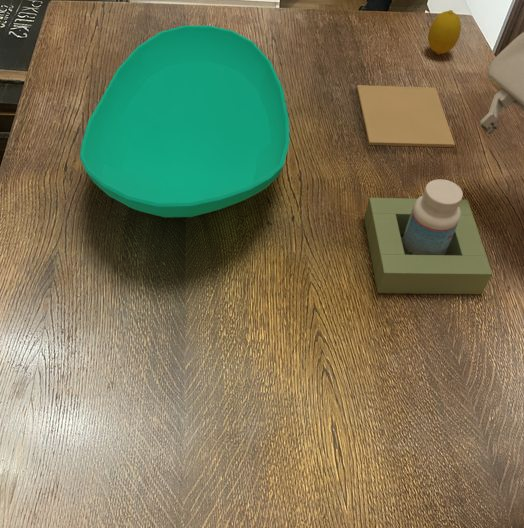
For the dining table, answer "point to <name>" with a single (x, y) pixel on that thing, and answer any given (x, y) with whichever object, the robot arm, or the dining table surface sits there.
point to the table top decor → (188, 124)
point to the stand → (423, 266)
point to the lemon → (444, 32)
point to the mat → (404, 116)
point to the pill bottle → (433, 219)
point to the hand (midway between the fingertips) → (508, 150)
